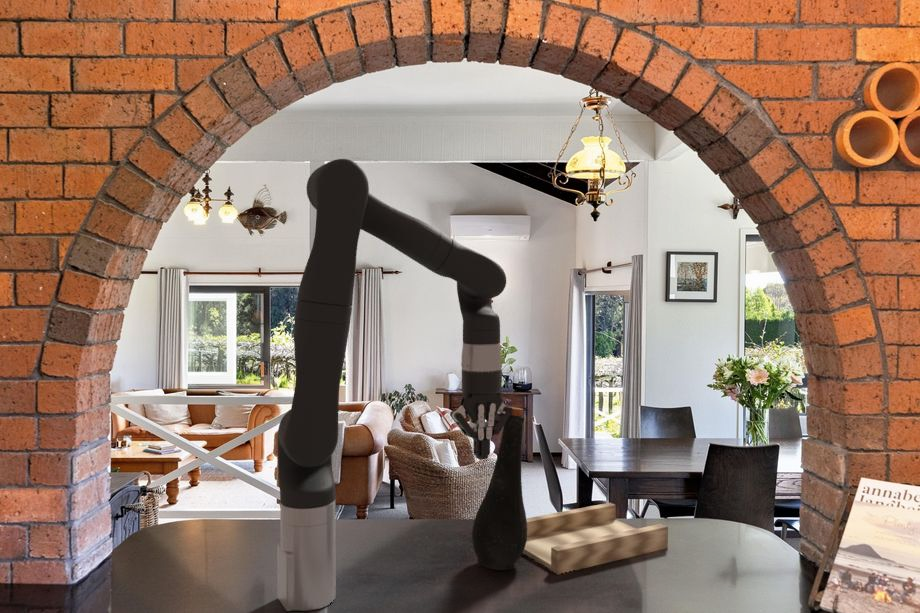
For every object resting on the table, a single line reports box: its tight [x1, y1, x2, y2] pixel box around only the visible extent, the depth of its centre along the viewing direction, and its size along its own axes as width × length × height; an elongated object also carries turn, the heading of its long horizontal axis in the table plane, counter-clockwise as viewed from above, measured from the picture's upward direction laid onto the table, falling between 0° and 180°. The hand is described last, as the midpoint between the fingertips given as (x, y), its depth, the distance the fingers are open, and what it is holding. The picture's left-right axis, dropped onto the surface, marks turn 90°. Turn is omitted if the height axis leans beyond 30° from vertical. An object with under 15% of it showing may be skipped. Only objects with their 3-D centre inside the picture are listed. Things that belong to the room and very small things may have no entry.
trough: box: [523, 502, 669, 575], centre depth 151 cm, size 28×18×4 cm, turn 119°
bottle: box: [471, 406, 527, 571], centre depth 141 cm, size 11×11×30 cm
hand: (481, 458), depth 138 cm, fingers closed
